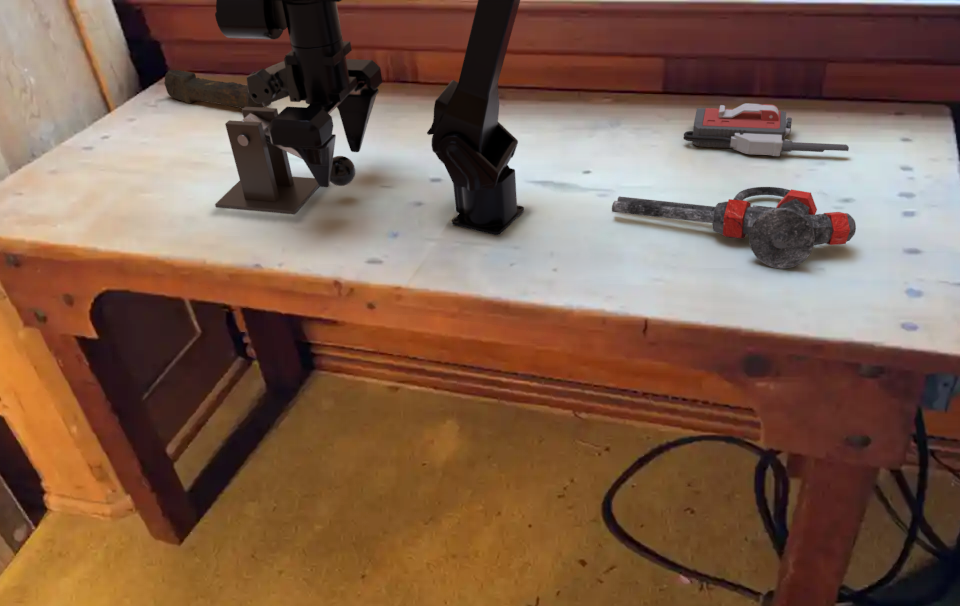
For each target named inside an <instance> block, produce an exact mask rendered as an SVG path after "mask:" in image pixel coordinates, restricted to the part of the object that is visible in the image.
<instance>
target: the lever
mask: <svg viewBox="0 0 960 606" xmlns="http://www.w3.org/2000/svg"><path fill="white" fill-rule="evenodd" d="M241 121H248V122H262V126H263V130H264V135H265V139H266V142H268V143H270V144H272V143H271V140H270V136H269V132H268V127H267V126H268V125H269V124H270V122H268V121H266V120H264V119H262V118H259V117H257V116H255V115H253V114H251V113H250V114H249V115H247V116H246V117H245V118H243V119H242V120H241ZM272 145H273V144H272ZM274 146H276V147H278V148H280V149H282V150H284V151H286V152H287V154H291V155H292V156H295V157H296V158H299V159H301V160H303V159H302V157H301V156H300V155H299V154H298V152H297V151H295V150H294V149H292V148H288V147H282V146H281V145H274ZM355 177H356V166H355V164H354V163H353V161H352V160H351V159H350V158H348V157H347V156H344V155H336V156H333V163H332V172H331V179H330V184H332V185H334V186H337V187H345V186H348V185H349V184H351V183H352V182H353V180H354V178H355Z"/></svg>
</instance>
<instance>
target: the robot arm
mask: <svg viewBox="0 0 960 606" xmlns="http://www.w3.org/2000/svg"><path fill="white" fill-rule="evenodd" d="M339 2H342V0H216V2H215V12H214V17H215V20H216V23H217V27H218V29H219V30H220V32H221V33H222V34H223V36H224V37H226V38H228V39H245V40H246V39H247V40H277V39H279V38H281V36H282V34H283V32H284V31H285V30H287V32H288V38H289V42H290V48H291V50H290V51H289V52H288V53H286V54H285V56H284V58H283V60H282V61H280V62H277V63H275V64H273V65H271V66H269V67H266V68H265V69H264V68H260V69H259V70H257V72H256V71H252V72H251V73H250V74H248V75H247V76H246V85H247V86H248V92H249V93H248V95H249V97H250V98H251V99H253V101H254V102H256V103H258V104H260V103H262V104H263V106H264V107H263V108H267V107H269V106H271V105H272V103H274V102H277V101H280V100H282V99H285V98H288V97H289V101H290V103H293V102H294V103H300V102H302V101H303V102H305V104H306V105H308V106H306V107H305V106H304V107H302V106H286V107H285V108H283V109H282V110H281V111H280V112H278V115H277V116H276V117H275V118H274V119H273V120H272V121H271V122H270V124H269V125H268V126H267V127H268V132H269V136H270V140H271V143H272V144H273V145H281V146H282V147H288V148H292V149H294V150H295V151H297V152H298V154H299V155H300V156H301V157H302V159H301V160H303V161H304V163H305V165H306V166H307V168H308V170H309V171H310V173H311V174H312V176H313V178H315V179H316V181H317V183H318V184H319V188H320V187H321V188H328V187H330V184H331V182H330V179H331V172H332V163H333V157H334V154H335V146H336V138H337V135H336V134H334V133H333V130H334V121H333V116H332V115H331V114H332V112H333V111H334V110H335V109H337V110H338V113H339V117H340V120H341V124H342V127H343V131H344V134H345V138H346V142H347V144H348V147H349V150H350V152H352V153H360V151H361V149H362V145H363V141H364V139H365V134H366V130H367V128H368V124H369V120H370V118H371V114H372V112H373V111H372V110H373V108H374V104H375V101H376V98H377V95H378V94H379V87H380V86H381V85H382V83H383V77H382V69H381V67H380V66H379V65H378V64H377V63H376V62H375V61H374V60H373V59H357V58H356V59H355V58H347V57H346V56H347V55H348V54H350V53H351V52H352V51H353V50H352V43H351V41H350V40H345V41H344V38H343V34H342V33H343V32H342V28H341V27H342V26H341V21H340V16H339V14H340V13H339V10H338V9H339V8H338V3H339ZM520 3H521V0H477V3H476V8H475V12H474V14H473V20H472V24H471V28H470V34H469V36H468V41H467V45H466V48H465V54H464V58H463V61H462V66H461V69H460V73H459V78H458V81H456V80H455V79H452V80H451V81H450V82H449V83H448V84H447V86H446V87H445V88H444V90H442V91H441V93H440V94H439V96H438V97H437V98H436V99H435V101H434V105H433V118H432V124H431V126H430V127H429V129H428V130H427V132H426V134H427V135H428V136H430V135H432V137H431V150H432V152H433V153H435V155H436V157H437V159H438V160H439V161H440V162H441V163H442V164H443V165H444V167H445V169H446V171H447V174H448V176H449V178H450V180H451V182H452V184H453V186H452V187H453V194H454V195H453V196H454V205H455V212H456V213H457V215H456V216H455V217H453V218H452V219H451V224H452V225H453V226H456V227H460V228H464V229H467V230H472V231H476V232H480V233H483V234H488V235H492V236H499V235H501V234H502V233H504V231H506V230H507V229H508V228H509V227H510V226H511V225H512V224H513V223H514V222H515V221H516V220H517V219H518V218H520V216H521V215H522V214H523V213H524V212H525V207H524V206H522V205H519V204H518V200H517V199H518V198H517V180H516V169H515V168H511V167H510V166H509V165H508V164H509V163H510V161H511V159H512V158H514V156H515V153H516V150H517V147H518V144H519V140H518V139H517V138H516V137H515V136H514V135H513V134H512V133H510V131H509V130H508V129H507V128H505V127H504V126H503V124H501V123H500V122H499V116H500V115H499V114H500V97H499V95H500V94H499V81H500V76H501V74H502V69H503V66H504V62H505V58H506V55H507V51H508V46H509V43H510V39H511V36H512V32H513V30H514V29H513V28H514V25H515V21H516V17H517V15H518V10H519V8H520V7H519V6H520Z"/></svg>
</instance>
